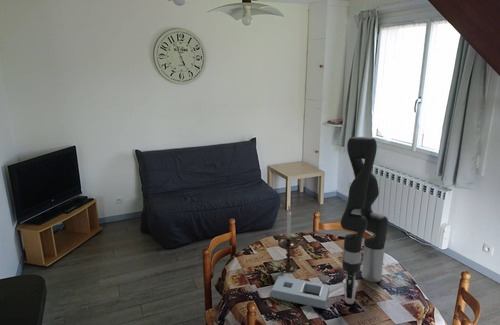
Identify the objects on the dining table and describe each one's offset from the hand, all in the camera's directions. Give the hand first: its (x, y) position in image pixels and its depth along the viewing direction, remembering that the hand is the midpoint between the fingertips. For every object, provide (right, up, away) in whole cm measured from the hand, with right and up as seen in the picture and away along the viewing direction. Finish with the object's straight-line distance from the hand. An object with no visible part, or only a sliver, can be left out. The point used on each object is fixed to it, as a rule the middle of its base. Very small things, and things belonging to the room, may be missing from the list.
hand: (349, 293), depth 150 cm
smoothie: (0, -4, +1) cm, 4 cm away
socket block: (-21, -3, +6) cm, 22 cm away
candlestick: (-24, +2, +29) cm, 38 cm away
